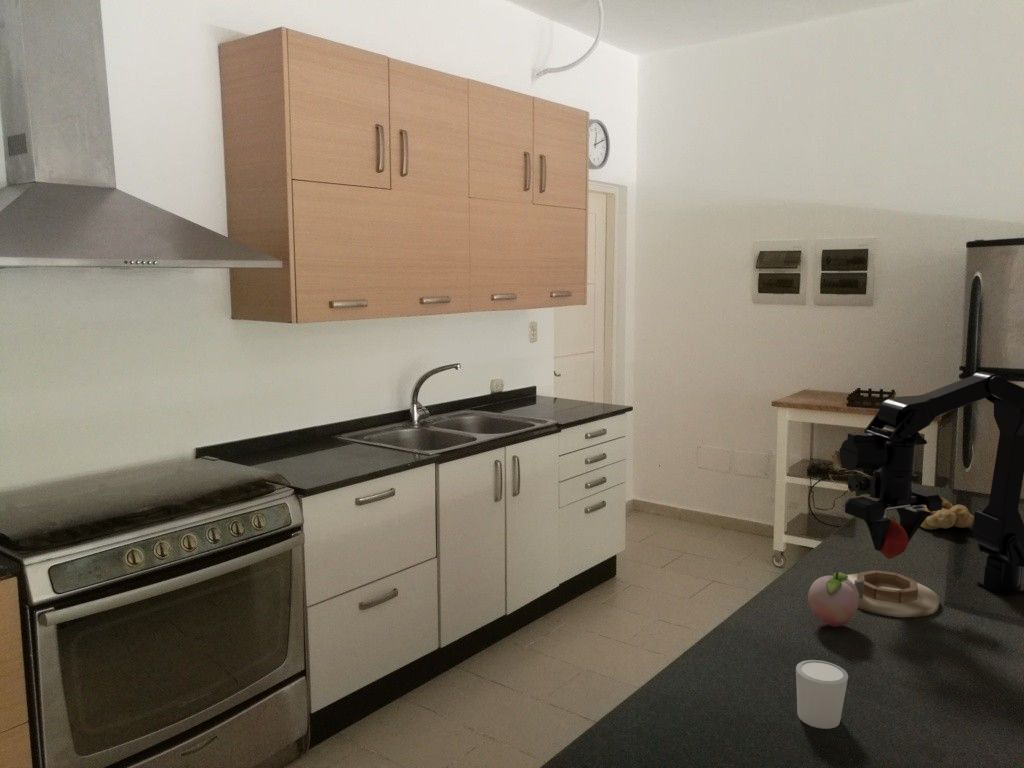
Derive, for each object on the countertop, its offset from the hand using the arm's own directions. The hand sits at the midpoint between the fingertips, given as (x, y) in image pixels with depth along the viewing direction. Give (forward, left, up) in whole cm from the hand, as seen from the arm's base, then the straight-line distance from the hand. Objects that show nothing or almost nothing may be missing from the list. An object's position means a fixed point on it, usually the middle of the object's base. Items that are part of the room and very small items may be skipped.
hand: (890, 548), depth 157 cm
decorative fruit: (+19, +6, -10) cm, 22 cm away
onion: (0, 0, -2) cm, 2 cm away
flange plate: (0, 0, -10) cm, 10 cm away
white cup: (+42, +28, -10) cm, 52 cm away
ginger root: (-46, -27, -10) cm, 54 cm away
